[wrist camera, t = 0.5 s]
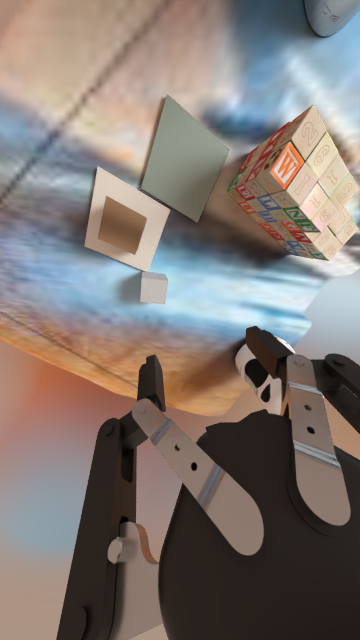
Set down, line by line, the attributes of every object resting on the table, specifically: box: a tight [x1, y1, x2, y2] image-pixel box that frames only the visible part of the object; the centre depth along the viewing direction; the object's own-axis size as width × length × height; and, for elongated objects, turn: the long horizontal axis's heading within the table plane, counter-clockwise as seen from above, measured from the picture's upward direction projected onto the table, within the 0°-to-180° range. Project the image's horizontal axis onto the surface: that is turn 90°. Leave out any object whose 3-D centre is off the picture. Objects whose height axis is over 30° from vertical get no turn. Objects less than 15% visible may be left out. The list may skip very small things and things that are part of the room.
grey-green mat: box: [141, 94, 229, 223], centre depth 25 cm, size 11×11×1 cm
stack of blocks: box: [227, 105, 358, 261], centre depth 26 cm, size 21×6×12 cm, turn 58°
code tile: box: [84, 167, 170, 272], centre depth 28 cm, size 12×12×1 cm
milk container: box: [235, 336, 324, 415], centre depth 44 cm, size 17×17×18 cm
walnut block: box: [98, 196, 147, 255], centre depth 25 cm, size 6×6×6 cm
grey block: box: [140, 271, 168, 304], centre depth 32 cm, size 5×5×5 cm
